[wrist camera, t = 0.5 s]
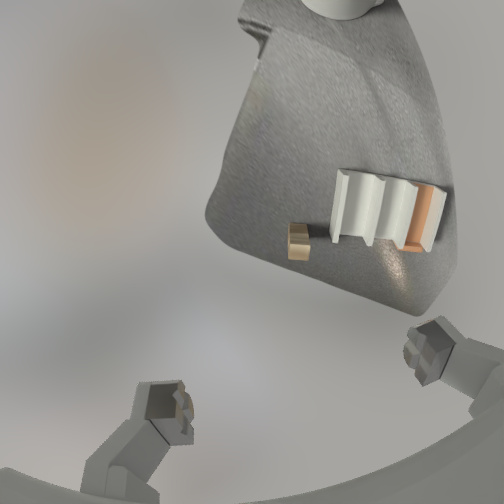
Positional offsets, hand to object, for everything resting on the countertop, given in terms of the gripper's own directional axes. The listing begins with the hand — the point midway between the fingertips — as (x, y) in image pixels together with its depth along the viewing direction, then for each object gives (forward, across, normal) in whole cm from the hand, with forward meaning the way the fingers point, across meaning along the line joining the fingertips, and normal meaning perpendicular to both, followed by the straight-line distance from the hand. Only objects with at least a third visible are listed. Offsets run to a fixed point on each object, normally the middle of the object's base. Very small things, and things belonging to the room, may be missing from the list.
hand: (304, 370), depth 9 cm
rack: (+42, -29, +10) cm, 52 cm away
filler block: (+46, -11, +14) cm, 49 cm away
